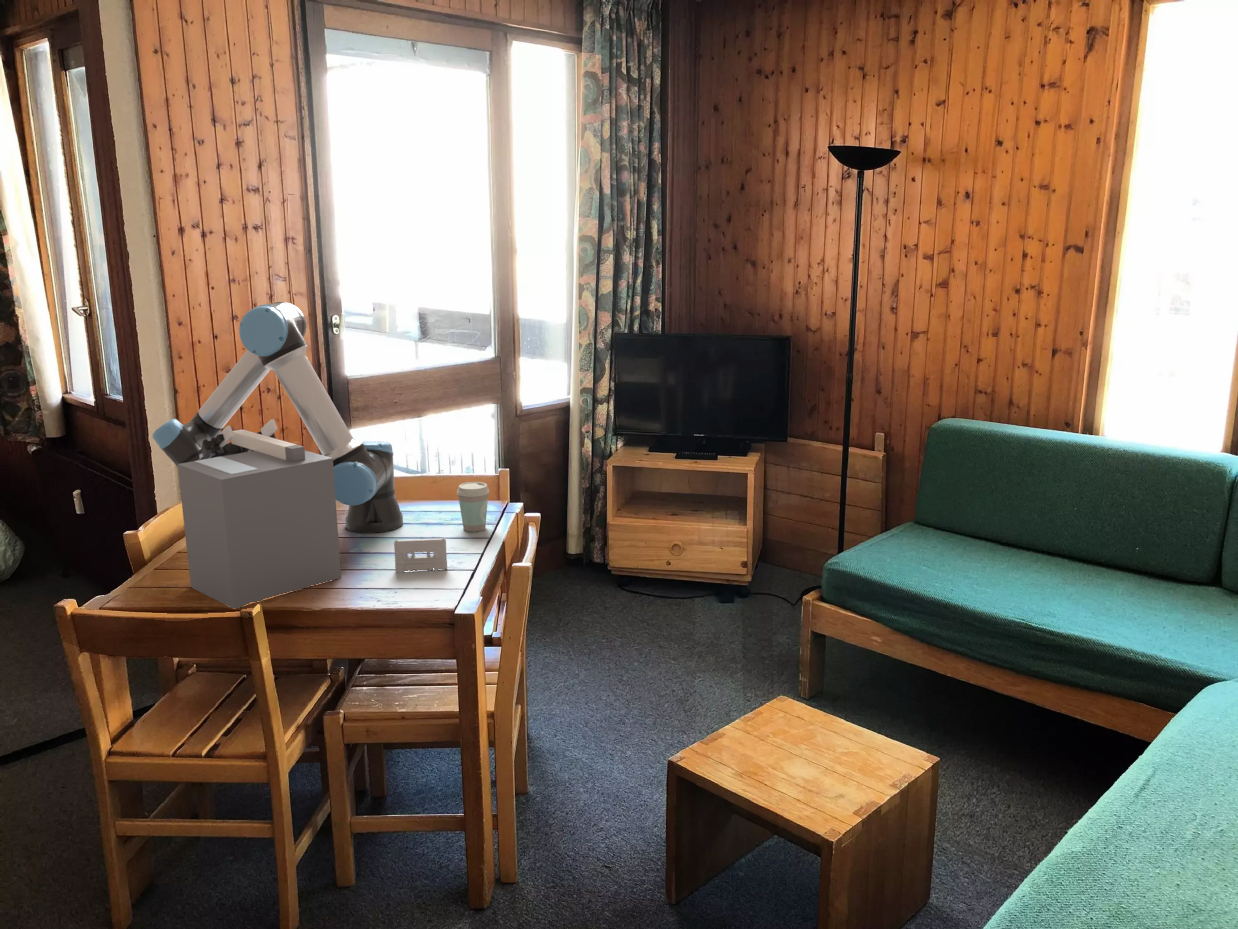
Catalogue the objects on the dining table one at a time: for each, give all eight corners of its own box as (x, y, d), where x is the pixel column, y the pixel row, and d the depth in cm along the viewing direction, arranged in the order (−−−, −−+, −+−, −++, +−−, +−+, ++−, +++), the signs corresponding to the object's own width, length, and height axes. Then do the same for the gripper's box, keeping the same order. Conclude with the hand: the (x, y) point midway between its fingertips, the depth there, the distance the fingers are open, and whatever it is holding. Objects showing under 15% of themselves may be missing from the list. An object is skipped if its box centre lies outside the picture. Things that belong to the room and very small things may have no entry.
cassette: (395, 573, 234) (393, 542, 232) (395, 570, 236) (394, 539, 234) (447, 571, 236) (445, 540, 234) (447, 568, 237) (446, 537, 236)
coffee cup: (484, 534, 263) (483, 490, 260) (453, 532, 264) (451, 488, 262) (494, 525, 271) (493, 482, 268) (464, 523, 273) (463, 480, 270)
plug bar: (231, 443, 238) (230, 431, 238) (243, 441, 240) (242, 429, 240) (293, 462, 220) (292, 448, 219) (305, 459, 222) (304, 446, 221)
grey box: (190, 587, 225) (177, 463, 218) (295, 559, 244) (286, 444, 237) (233, 609, 212) (221, 479, 205) (341, 578, 230) (332, 457, 224)
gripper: (265, 466, 256) (302, 434, 241) (177, 483, 239) (210, 450, 224) (256, 439, 257) (292, 406, 242) (167, 454, 240) (200, 419, 225)
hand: (252, 427), depth 233 cm, fingers open, 10 cm apart
